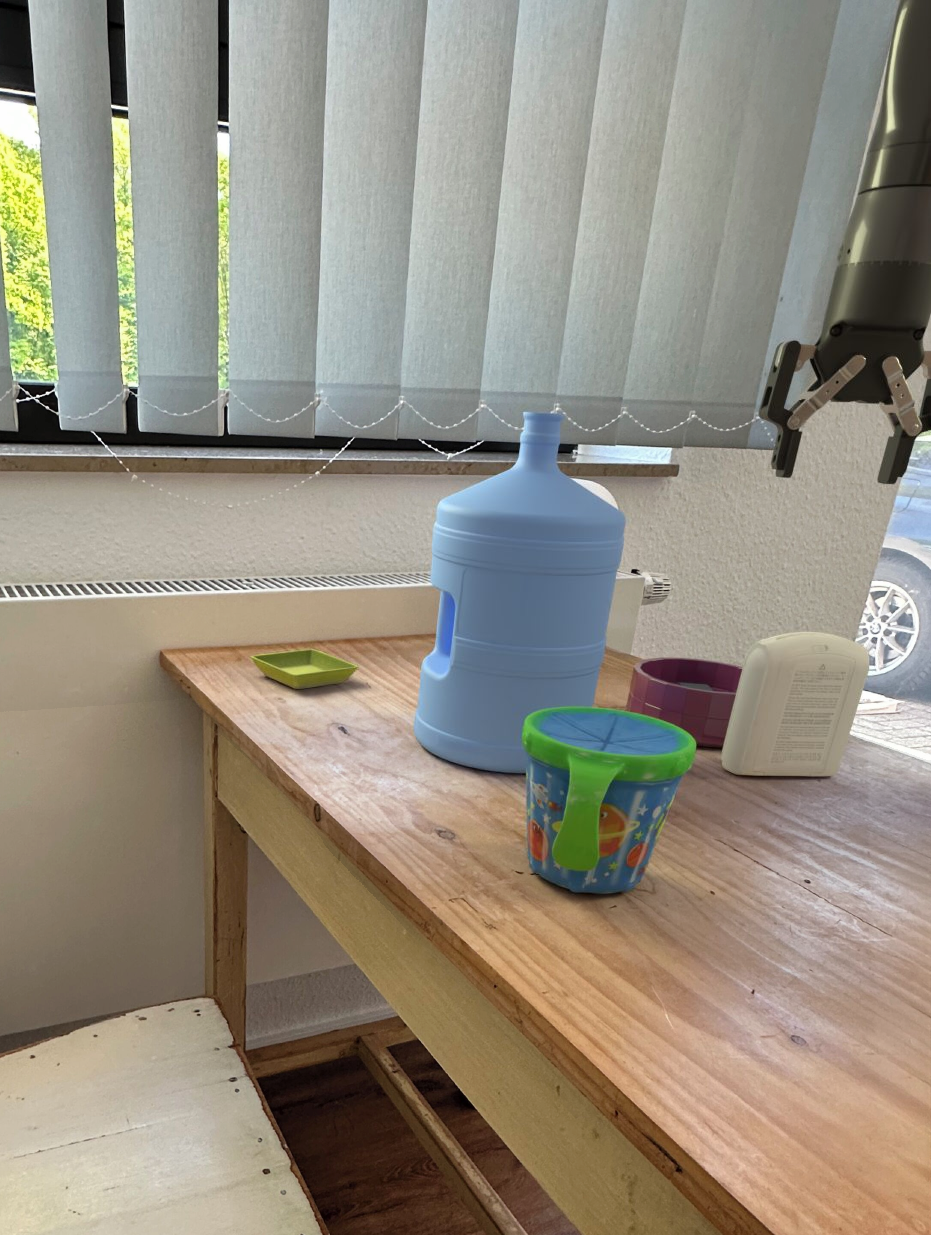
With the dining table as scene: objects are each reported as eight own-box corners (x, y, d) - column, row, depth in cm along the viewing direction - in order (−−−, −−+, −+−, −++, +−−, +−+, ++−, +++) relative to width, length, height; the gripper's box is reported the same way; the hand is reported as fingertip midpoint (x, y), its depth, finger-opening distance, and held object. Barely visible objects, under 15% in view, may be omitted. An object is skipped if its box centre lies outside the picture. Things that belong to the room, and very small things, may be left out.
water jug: (609, 743, 89) (670, 419, 78) (546, 792, 77) (607, 417, 66) (459, 708, 97) (494, 409, 85) (381, 747, 85) (410, 405, 73)
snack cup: (542, 816, 72) (562, 686, 68) (685, 851, 68) (717, 715, 64) (466, 896, 60) (486, 743, 56) (635, 946, 55) (670, 784, 51)
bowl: (741, 714, 100) (753, 662, 98) (783, 756, 88) (798, 699, 86) (614, 704, 101) (623, 653, 99) (638, 744, 89) (650, 687, 87)
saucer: (312, 665, 110) (313, 647, 109) (359, 684, 103) (360, 666, 102) (248, 674, 105) (248, 655, 104) (293, 694, 98) (293, 675, 98)
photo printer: (815, 762, 87) (853, 628, 82) (845, 779, 83) (886, 640, 78) (711, 762, 86) (743, 626, 81) (736, 780, 82) (772, 637, 77)
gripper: (814, 252, 72) (762, 478, 79) (1011, 259, 71) (942, 489, 78) (780, 265, 79) (736, 472, 86) (960, 272, 78) (901, 482, 84)
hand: (834, 480), depth 82 cm, fingers open, 8 cm apart
